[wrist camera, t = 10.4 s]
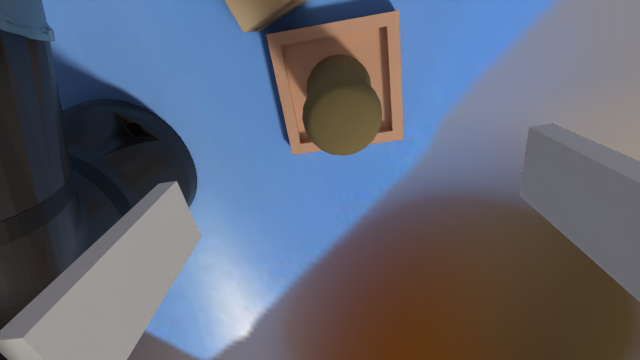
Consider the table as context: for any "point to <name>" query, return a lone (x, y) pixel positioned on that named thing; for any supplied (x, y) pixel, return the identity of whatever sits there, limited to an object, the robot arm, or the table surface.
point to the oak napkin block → (260, 12)
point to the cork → (341, 106)
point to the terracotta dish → (340, 39)
